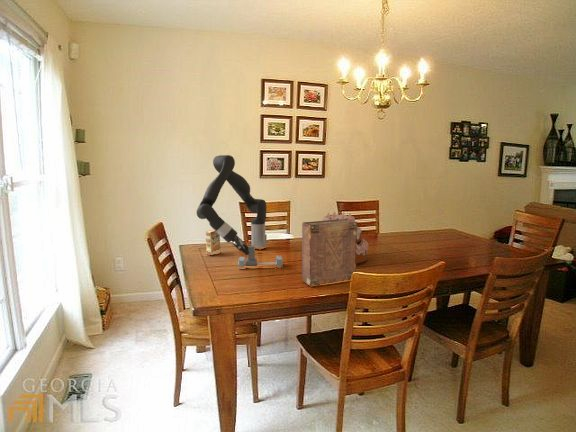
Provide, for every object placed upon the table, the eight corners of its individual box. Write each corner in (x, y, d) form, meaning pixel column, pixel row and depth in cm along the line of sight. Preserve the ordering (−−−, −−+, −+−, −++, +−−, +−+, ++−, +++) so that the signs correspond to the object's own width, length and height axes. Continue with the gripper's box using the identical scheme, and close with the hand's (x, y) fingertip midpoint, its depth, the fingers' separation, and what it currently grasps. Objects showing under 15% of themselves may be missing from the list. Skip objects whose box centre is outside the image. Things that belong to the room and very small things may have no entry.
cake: (367, 269, 203) (369, 219, 198) (305, 265, 210) (305, 217, 205) (367, 252, 237) (369, 209, 232) (313, 249, 244) (313, 208, 239)
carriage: (246, 266, 203) (245, 247, 201) (246, 263, 208) (245, 245, 207) (257, 266, 203) (256, 247, 201) (256, 263, 209) (256, 244, 207)
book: (345, 275, 192) (347, 218, 187) (355, 280, 184) (357, 221, 179) (301, 282, 182) (302, 222, 177) (310, 288, 174) (310, 225, 169)
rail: (238, 269, 201) (237, 261, 201) (238, 265, 209) (238, 256, 208) (283, 268, 204) (283, 259, 203) (282, 264, 212) (282, 255, 211)
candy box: (211, 256, 228) (210, 232, 225) (206, 255, 230) (205, 231, 227) (220, 253, 235) (220, 229, 233) (215, 252, 238) (214, 228, 235)
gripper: (230, 229, 194) (253, 250, 197) (232, 224, 208) (252, 244, 211) (220, 240, 195) (243, 260, 198) (222, 234, 209) (243, 253, 212)
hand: (248, 252), depth 204 cm, fingers open, 8 cm apart
